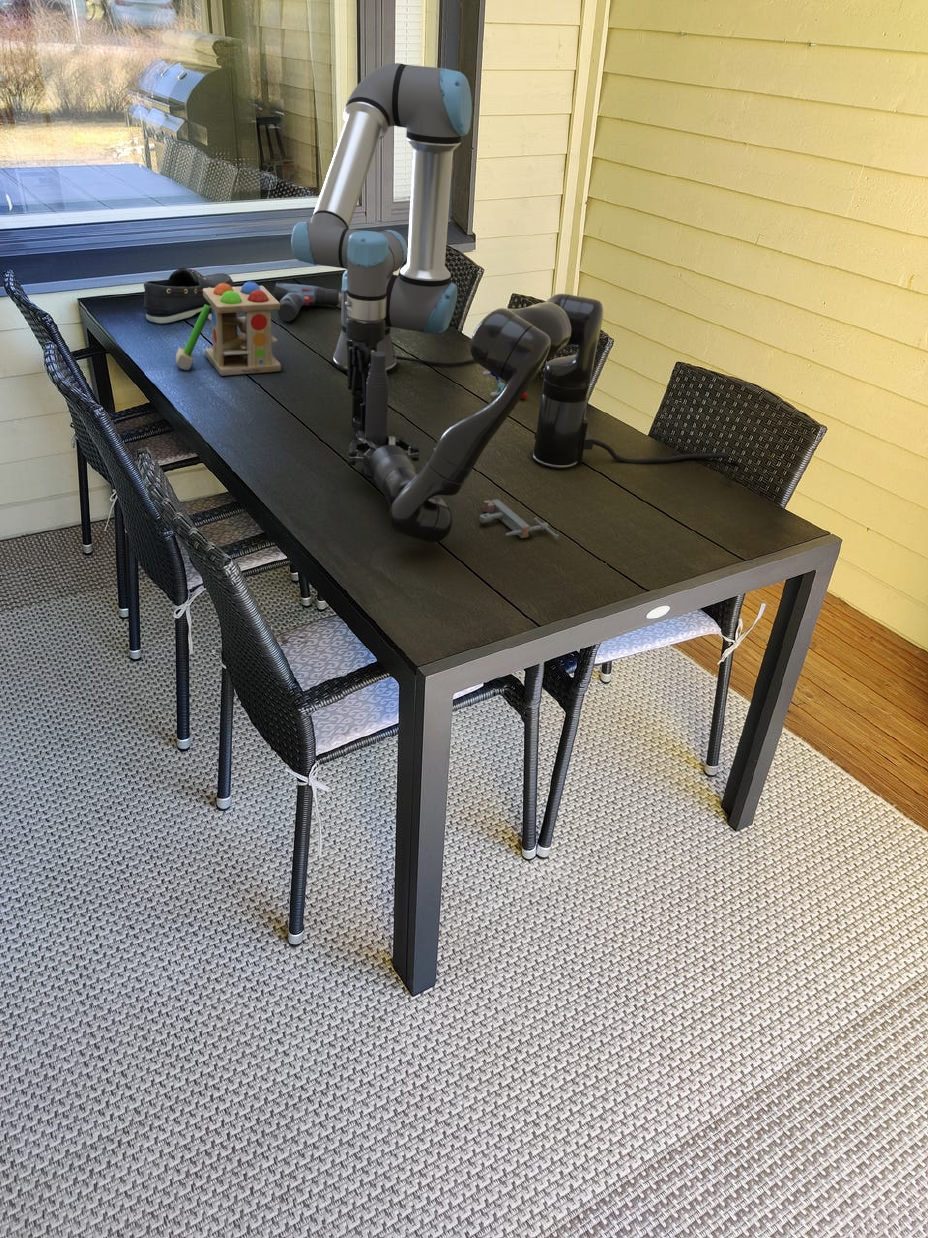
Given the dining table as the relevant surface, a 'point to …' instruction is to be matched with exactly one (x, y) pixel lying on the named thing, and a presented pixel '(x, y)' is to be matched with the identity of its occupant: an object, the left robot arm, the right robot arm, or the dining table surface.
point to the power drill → (302, 298)
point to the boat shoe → (179, 295)
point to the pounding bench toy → (229, 347)
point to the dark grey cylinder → (376, 402)
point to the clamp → (511, 519)
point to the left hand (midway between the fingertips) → (362, 430)
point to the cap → (356, 423)
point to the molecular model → (500, 386)
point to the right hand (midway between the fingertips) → (371, 434)
